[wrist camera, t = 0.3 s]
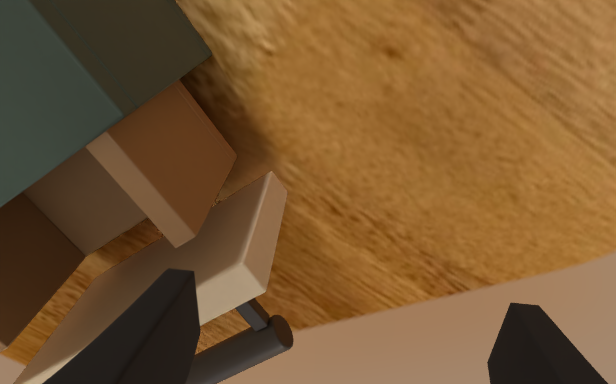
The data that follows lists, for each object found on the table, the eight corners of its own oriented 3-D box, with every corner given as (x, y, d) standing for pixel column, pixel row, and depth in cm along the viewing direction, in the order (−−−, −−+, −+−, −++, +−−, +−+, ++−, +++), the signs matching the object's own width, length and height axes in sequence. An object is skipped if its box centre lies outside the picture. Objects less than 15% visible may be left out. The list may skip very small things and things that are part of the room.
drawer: (341, 262, 21) (343, 382, 15) (168, 351, 24) (112, 481, 18) (77, -94, 16) (-89, -132, 10) (-106, 76, 19) (-321, 130, 13)
